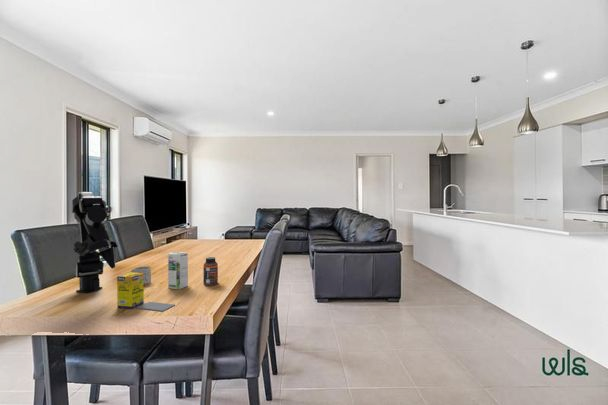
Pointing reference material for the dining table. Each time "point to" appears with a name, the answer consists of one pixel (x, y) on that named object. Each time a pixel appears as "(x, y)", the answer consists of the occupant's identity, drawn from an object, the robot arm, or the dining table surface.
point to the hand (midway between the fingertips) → (113, 268)
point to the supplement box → (130, 290)
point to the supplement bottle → (210, 271)
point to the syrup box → (177, 270)
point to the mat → (155, 306)
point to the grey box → (144, 273)
